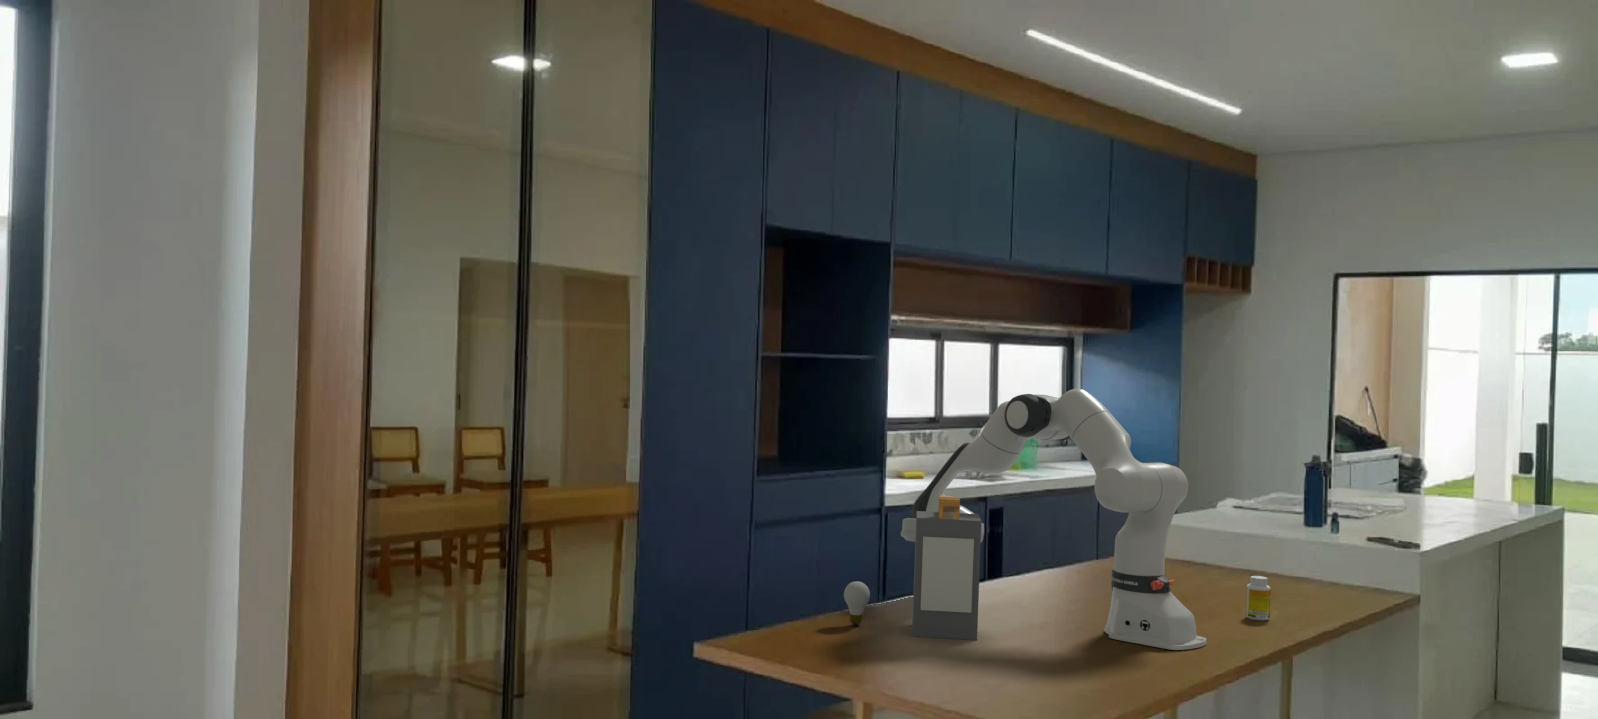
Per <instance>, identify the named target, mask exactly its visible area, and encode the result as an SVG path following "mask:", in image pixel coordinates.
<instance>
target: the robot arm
mask: <svg viewBox="0 0 1598 719" xmlns="http://www.w3.org/2000/svg"><path fill="white" fill-rule="evenodd" d="M1029 438H1031V439H1035V440H1041V441H1067V440H1070V439H1071V440H1072V442H1073V443H1074V444H1075V446H1076V447H1077V448H1078V450H1080V452H1081V453H1082V454H1083V456H1084V458H1086V460H1087V461H1088V462H1089V464H1090V465H1091V467H1092V469H1093V471H1094V474H1095V476H1096V477H1095V481H1094V494H1095V498H1096V499H1097V502H1098V503H1099V504H1100V505H1101V506H1102V507H1104V509H1107V510H1110V511H1114V512H1119V513H1122V514H1123V513H1128V516H1127V519H1126V520H1125V523H1124V525H1123V526H1122V527H1121V528H1120V530H1119V531H1117V533H1116V535H1115V538H1114V556H1113V558H1114V561H1113V569H1112V570H1111V582H1110V584H1111V592H1112V594H1111V600H1110V601H1111V602H1110V607H1109V612H1108V617H1107V620H1106V624H1105V626H1104V630H1103V632H1104V633H1105V634H1107V635H1108V638H1110V639H1112V640H1117V641H1122V642H1127V643H1132V644H1139V645H1144V646H1149V647H1154V648H1160V649H1167V650H1172V651H1180V650H1181V651H1185V650H1192V649H1196V648H1197V649H1198V648H1201V647H1204V646H1206V645H1207V643H1208V642H1207V637H1204V636H1200V635H1197V625H1196V619H1195V616H1194V614H1193V613H1192V611H1190V610H1189V609H1188V608H1187V607H1186V606H1185V605H1184V604H1183V603H1182V602H1181V601H1180V600H1179V599H1178V598H1177V597H1176V596H1175V595H1174V594H1173V593H1172V592H1171V586H1173V585H1175V583H1173V582H1175V581H1176V580H1175V579H1169V578H1168V577H1167V575H1166V573H1165V565H1166V564H1165V561H1166V558H1165V557H1166V545H1167V538H1168V535H1169V531H1170V528H1171V524H1172V521H1173V518H1174V516H1175V513H1176V512H1177V510H1178V508H1179V506H1181V504H1182V503H1183V502H1184V501H1185V499H1186V498H1187V496H1188V493H1189V481H1188V479H1187V478H1188V477H1187V476H1186V475H1185V473H1184V471H1182V469H1181V468H1179V467H1178V466H1175V465H1172V464H1168V463H1164V462H1159V461H1158V462H1142V461H1139V460H1137V458H1135V457H1134V456H1133V453H1132V452H1131V451H1132V450H1130V449H1131V445H1132V439H1131V436H1130V434H1129V433H1128V432H1127V431H1126V429H1125V428H1124V427H1123V426H1122V425H1121V424H1120V422H1119V421H1118V419H1116V418H1115V417H1114V415H1113V414H1112V413H1111V412H1110V410H1108V408H1107V407H1105V405H1104V404H1102V402H1101V401H1099V399H1097V398H1096V397H1095V396H1093V395H1092V394H1091V393H1090V392H1088V391H1087V390H1085V389H1082V388H1073V389H1070V390H1068V391H1066V392H1064V393H1063V394H1061V396H1060V397H1057V396H1052V395H1049V394H1032V393H1026V394H1025V393H1024V394H1018V395H1016V396H1014V397H1012V398H1011V399H1010V400H1007V401H1003V402H1002V403H1000V404H999V406H998V407H997V408H996V409H995V410H994V412H993V413H992V414H991V416H989V419H988V420H987V422H986V423H985V425H984V427H983V429H982V430H981V432H980V435H978V437H977V438H975V440H974V441H972V442H965V443H963V444H962V445H960V446H959V447H957V448H956V450H955V451H954V452H953V453H952V455H951V456H949V458H948V459H947V461H946V462H945V463H944V464H943V466H942V467H941V468H940V470H939V471H938V472H937V474H936V475H935V477H934V478H933V479H931V482H930V483H929V484H928V486H927V487H926V488H925V489H924V490H922V492H921V493H920V494H919V495H918V496H917V497H916V498H915V500H914V502H913V504H912V507H911V512H912V513H911V514H912V516H913V518H911V517H906V518H903V519H902V526H901V528H902V529H901V531H900V536H901V538H903V539H904V540H905V541H909V542H914V543H915V539H916V512H917V511H926V512H939V496H940V495H946V494H945V490H946V489H947V488H948V487H949V485H950V484H951V483H952V481H953V480H954V479H955V478H956V476H957V475H958V474H959V473H960V472H961V471H962V472H963V471H974V472H979V473H983V474H1000V473H1004V472H1007V471H1008V470H1010V468H1012V467H1013V465H1014V464H1015V462H1016V461H1017V459H1018V458H1019V456H1020V455H1021V452H1022V450H1023V448H1024V447H1025V444H1026V442H1027V440H1028V439H1029ZM960 513H968V514H975V513H974V512H973V511H971V510H969V508H967V507H965V506H963V505H961V504H960ZM984 536H985V524H984V523H983V522H981V543H982V542H983V540H984Z"/></svg>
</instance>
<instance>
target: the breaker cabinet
mask: <svg viewBox="0 0 1598 719" xmlns="http://www.w3.org/2000/svg"><path fill="white" fill-rule="evenodd" d="M938 513H939V512H926V511H917V512H916V539H915V542H914V543H915V544H914V570H913V572H914V573H913V575H914V576H913V593H912V594H913V598H912V600H913V601H912V624H911V625H912V626H911V627H912V637H919V638H936V639H938V638H939V639H953V640H971V641H978V628H979V627H978V626H979V625H978V624H979V622H978V620H979V594H980V593H979V592H980V573H981V572H980V571H981V570H980V569H981V566H980V565H981V547H982V546H981V544H982V542H981V523H982V519H981V517H980V515H979V513H974V514H968V513H959V520H950V519H939V516H938Z"/></svg>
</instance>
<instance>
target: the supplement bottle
mask: <svg viewBox="0 0 1598 719" xmlns="http://www.w3.org/2000/svg"><path fill="white" fill-rule="evenodd" d="M1268 579H1269V578H1268V577H1265V576H1262V575H1261V576H1260V575H1252V576H1250V579H1249V583H1248V584H1247V585H1246V591H1245V592H1246V594H1245V596H1246V597H1245V617H1246V618H1247V619H1249V620H1253V621H1262V622H1263V621H1265V622H1266V621H1268V620H1270V617H1271V595H1272V594H1271V590H1272V589H1271V586H1269V585H1268V582H1269V581H1268Z"/></svg>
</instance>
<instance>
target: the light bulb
mask: <svg viewBox="0 0 1598 719" xmlns="http://www.w3.org/2000/svg"><path fill="white" fill-rule="evenodd" d="M870 597H871V592H870V589H869V587H868V586H867V585H866V584H865V583H864V582H862V581H858V580H857V581H851V582H849V583H848V584H847V585H846V586H845V588H844V591H843V598H844V601H845V603H846V605H847V608H848V611H849V616H850V618H849V622H850V623H851V625H852V626H854V627H857V626H860V624H861V623H862V621H863V619H862V618H863V614H864V611H865V608H866V606H867V604H868V602H869V601H870V599H871V598H870Z"/></svg>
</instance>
